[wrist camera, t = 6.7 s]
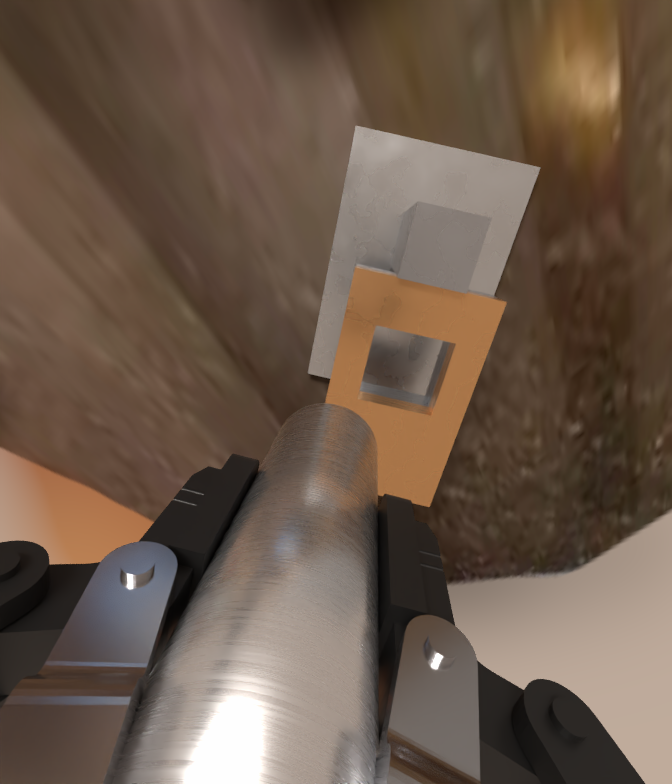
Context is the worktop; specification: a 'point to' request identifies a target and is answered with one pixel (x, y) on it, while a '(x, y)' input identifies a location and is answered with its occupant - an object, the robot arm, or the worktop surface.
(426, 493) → the latch clamp bracket
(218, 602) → the pin
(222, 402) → the worktop surface
